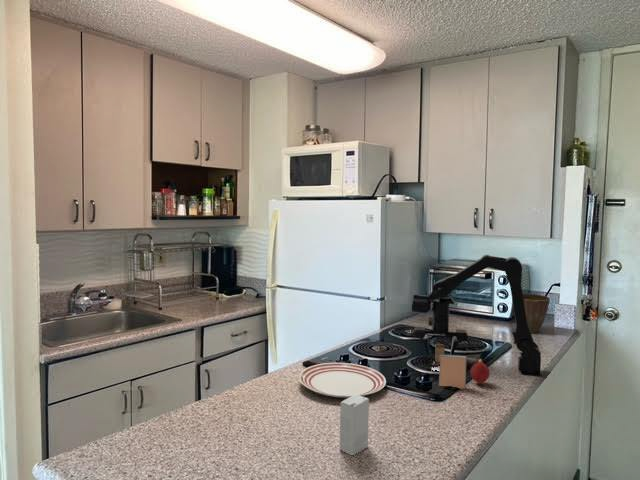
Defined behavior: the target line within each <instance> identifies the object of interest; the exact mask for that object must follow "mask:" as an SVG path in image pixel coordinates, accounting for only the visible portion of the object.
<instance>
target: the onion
mask: <svg viewBox="0 0 640 480" xmlns="http://www.w3.org/2000/svg"><path fill="white" fill-rule="evenodd" d="M490 374H491V373H490V370H489V367H488V366H487V365H486V364H485V363H484V362H483V360H482V359H478V361H477V362H476V363H474V364H473V365H472V366H471V367H470V376H471V379H472V380H473V381H475V383H476V384H477V385H482V384H484V383H485V382H486V381H488V380H489V378H490Z"/></svg>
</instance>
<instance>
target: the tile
mask: <svg viewBox="0 0 640 480" xmlns="http://www.w3.org/2000/svg"><path fill="white" fill-rule="evenodd" d="M467 360H468V359H467V356H465V355H454V354H453V355H450V354H444V355H441V354H440V367H439V374H438V387H439V386H452V387H457V388H459V390H466V387H467V386H466V385H467V384H466V383H467Z"/></svg>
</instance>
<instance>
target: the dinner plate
mask: <svg viewBox="0 0 640 480" xmlns="http://www.w3.org/2000/svg"><path fill="white" fill-rule="evenodd" d="M298 380H299V382H300V383H301V385H303V386H304V387H305V388H307V389H309V390H311V391H313V392H315V393H317V394H320V395H323V396H327V397H331V398H336V399H337V398H341V399H348V398H349V397H351V396H353V395H359V396H362V397H365V396H368V395H372V394H375V393H377V392H380V391H381V390H382V389H383V388H384V387H385V386H386V384H387V380H386V377H385V376H384V375H383V374H382V373H381V372H379V371H378V370H377V369H374V368H371V367H370V366H369V367H368V366H365V365H361V364H356V363H350V362H349V363H348V362H325V363H320V364H319V363H318V364H315V365H311V366H308V367H306V368H305V369H303V370H302V371H301V372H300V373H299V375H298Z"/></svg>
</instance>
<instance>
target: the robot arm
mask: <svg viewBox="0 0 640 480" xmlns="http://www.w3.org/2000/svg"><path fill="white" fill-rule="evenodd" d="M487 268H491V269H494V270H497V271H502V272H504V273H505V276H506V278H507V281H508V285H509V288H510V293H511V300H512V306H513V307H512V308H513V314H514V319H515V327H512V328H511V333H512V337H513V338H512V340H513V345H515V346H516V348H517V349H518V351H520V352H519V356H518V357H517V368H516V369H517V370H518V371H519V373H520V374H521V375H527V376H541V377H542V373H541V363H542V362H541V361H542V356H541V355H542V353H541V349H540V346H539V345H538V344H537V343H536V342H535V341H534V338H533V336H532V333H531V332H530V329H529V327H528V324H527V318H526V312H525V306H524V299H523V294H524V293H523V289H522V288H523V286H522V279H523V278H522V277H523V265H522V263H521V261H520V259H518V258H517V257H513V256H510V257H508V258H505V257H500V256H493V255H492V256H491V255H489V254H485V255H483V256H481V257H480V258H479V259H477V260H476V261H473V262H472V263H471V264H469V265H468V266H466V267H464V268H462V269H461V270H460V271H458V272H456V273H455V274H452V275H449V276H446V277H444V278H441V279H439V280H437V281H436V282H435V283H434V285H433V287H432V291H431V292H430V293H429V294H428V295H425V294H424V295H423V294H417V293H414V294H413V296H412V297H413V298H412V304H411V313H414V314H423V315H424V314H429V312H432V316H429V317H428V319H427V320H428V323H427V325H428V326H430V327H431V329H430V330H429V329H428V330H427V329H426V326H425V327H424V326H415V327H414V331H413V334H414V335H413V338H415V339H419V341H421V342H422V344H424V347H425V351H426V354H427V357H430V346H429V345H430V344H429V337H428V336H431V337H445V338H447V337H448V338H452V339H451V340H452V341H451V348H450V353H449V355H454V353H455V351H456V349H457V347H458V346H459V344H462V342H468V340H469V339H468V337H469V335H468V331H467V330H466V329H457V328H456V329H455V330H454V331H450V330H449V329H450V305H455V303H456V300H454V299H453V297H452V296H448V295H449V294H450V293H451V292H453V291H454V290H455V289H456V288H457V287H458V286H459V285H461V284H463V283H464V282H466V281H467V280H468V279H470V278H472V277H474V276H475V275H477V274H479V273H481V272H482V271H484V270H485V269H487ZM447 296H448V297H447ZM438 298H439V299H438Z"/></svg>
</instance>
